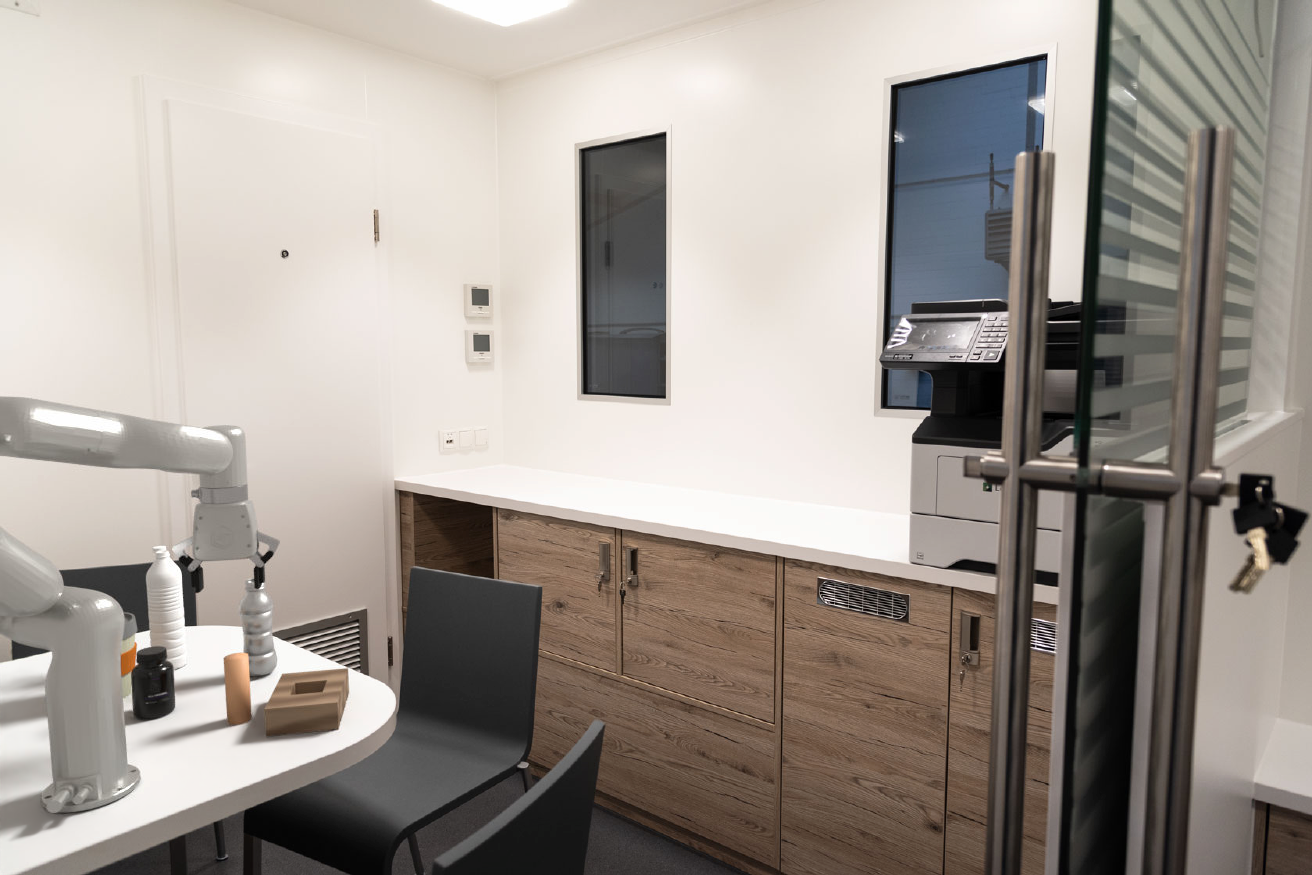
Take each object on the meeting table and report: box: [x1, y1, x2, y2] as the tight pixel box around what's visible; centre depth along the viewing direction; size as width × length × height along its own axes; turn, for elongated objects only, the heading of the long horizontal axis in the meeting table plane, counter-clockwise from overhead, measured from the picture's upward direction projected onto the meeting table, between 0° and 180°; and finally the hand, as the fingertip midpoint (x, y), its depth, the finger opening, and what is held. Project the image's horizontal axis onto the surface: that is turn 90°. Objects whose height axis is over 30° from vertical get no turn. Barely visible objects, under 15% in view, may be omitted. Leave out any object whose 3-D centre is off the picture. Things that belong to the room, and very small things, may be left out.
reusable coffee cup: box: [121, 611, 138, 699], centre depth 161 cm, size 13×13×15 cm
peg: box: [223, 652, 253, 726], centre depth 151 cm, size 4×4×12 cm
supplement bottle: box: [131, 646, 176, 721], centre depth 154 cm, size 7×7×12 cm
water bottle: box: [145, 545, 188, 671], centre depth 176 cm, size 9×6×25 cm
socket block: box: [263, 667, 350, 737], centre depth 154 cm, size 16×12×5 cm
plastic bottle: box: [238, 577, 278, 677], centre depth 172 cm, size 6×7×20 cm
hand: (229, 588), depth 150 cm, fingers open, 9 cm apart
